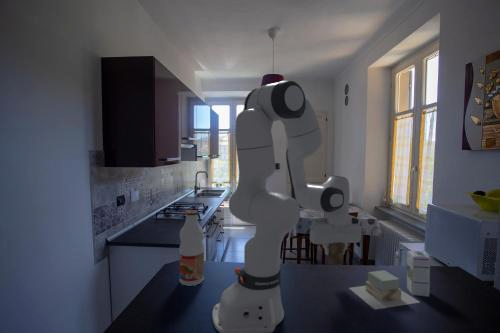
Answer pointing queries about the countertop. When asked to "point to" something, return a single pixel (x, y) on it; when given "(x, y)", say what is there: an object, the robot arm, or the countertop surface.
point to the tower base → (383, 293)
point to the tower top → (383, 280)
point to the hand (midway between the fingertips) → (334, 254)
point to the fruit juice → (191, 251)
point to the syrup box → (418, 273)
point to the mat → (379, 305)
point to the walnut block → (335, 253)
